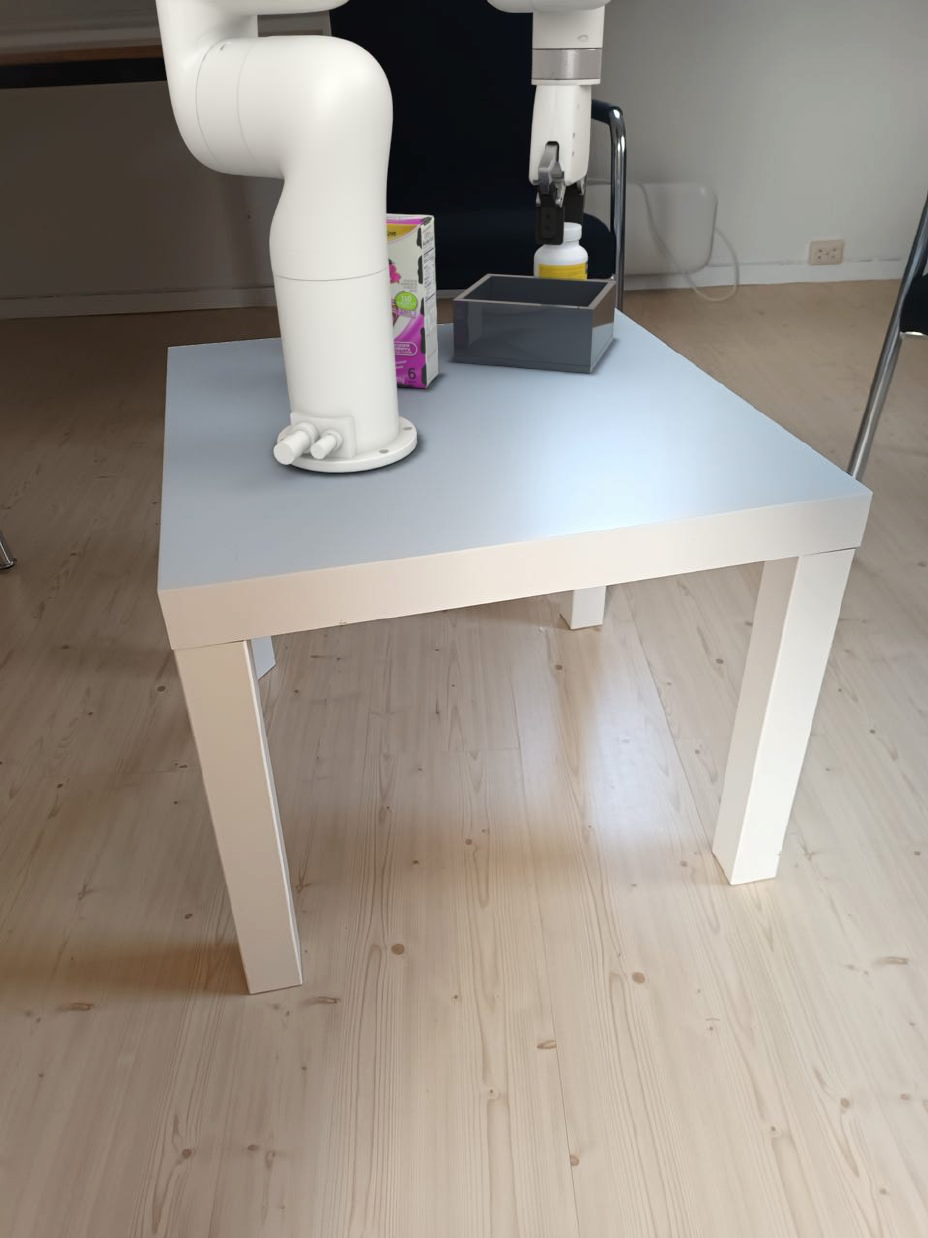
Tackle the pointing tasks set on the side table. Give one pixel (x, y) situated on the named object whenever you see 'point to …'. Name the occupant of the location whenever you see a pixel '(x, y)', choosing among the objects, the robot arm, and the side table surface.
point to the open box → (534, 322)
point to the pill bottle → (563, 256)
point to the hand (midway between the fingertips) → (559, 236)
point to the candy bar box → (413, 298)
